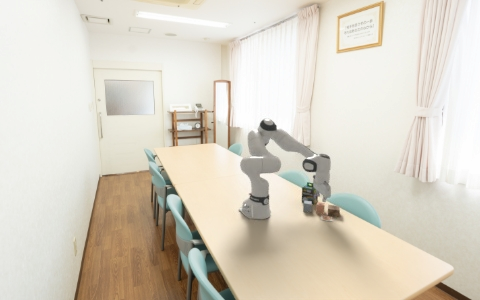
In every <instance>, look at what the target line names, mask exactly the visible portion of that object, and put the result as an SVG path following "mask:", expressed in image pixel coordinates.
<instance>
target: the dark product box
mask: <svg viewBox="0 0 480 300" xmlns="http://www.w3.org/2000/svg"><path fill="white" fill-rule="evenodd" d="M318 198H319V197H317V193H316V189H315V188H314V187H313V182H309V181H308V182H306V184H304V185H303V186H302V187H301V203H304V200H305V201H312V204H313V205H315V204H317V202H318V200H319V199H318Z"/></svg>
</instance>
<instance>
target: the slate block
mask: <svg viewBox="0 0 480 300" xmlns="http://www.w3.org/2000/svg"><path fill="white" fill-rule="evenodd" d="M312 206H313V205H312V201H305V200H304V202H303V206H302V212H303V213H312V208H313V207H312Z"/></svg>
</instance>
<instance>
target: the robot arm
mask: <svg viewBox="0 0 480 300" xmlns="http://www.w3.org/2000/svg"><path fill="white" fill-rule="evenodd" d="M270 140H273V142H274V143H275V144H276V145H277V146H278V147H279V148H280V149H281V150H283V151H285V152H288V153H289V152H290V153H291V152H293V153H298V154H300V155H301V156H303V157H304V158H305V159H304V160H302V164H301V165H302V169H303V170H304V171H305V172H307V173H315V174H313V175H312V178H313V180H312V183H313V187H314V188H315V189H316V193H317V197H318V198H319V197H320V196H322V197H323V198H322V200H321V201H322V203H326V202H327V200H328V198H331V196H332V188H331V186H330V181H331V180H330V179H331V173H330V171H331V168H332V167H331V166H332V165H331V164H332V163H331V157H330V156H329V155H328V154H325V153H316V152H314V151H313V150H311V149H310V148H308V147H307V146H306V145H305V144H303V143H301V142H300V141H298V140H297V139H296V138H294V137H293V136H292V135H291V134H290V133H288V132H286V131H285V130H284V129H282V128H280V127H278V126H277V125H276V123H275V121H273V120H272V119H270V118H263V119H262V120H261V121H260V123H259V126H258V128H257V129H253V130H251V131H249V132H248V135H247V147H248V151H249V154H250V156H245V157H243V158H242V159H241V161H240V162H239V163H240V165H239V167H240V171H241V172H242V173H244V174H245V175H246V176H247V177H248V178H249V181H250V187H251V191H250V193H248V196H249V197H248V198H247V199H245V200H244V201H243V202H242V204H241V205H242V206H240V207H239V208H238V211H239V212H240V213H242V214H243V215H244V216H245V217H246V218H247V219H249V220H250V219H254V220H265V219H268V218H269V217H270V216H271V215H272V214H271V209H270V191H269V190H270V183H269V181H268V180H267V179H265V178H264V177H261V176H260V175H261V174H274V173H278V172H279V171H280V170H281V167H282V162H281V160H280V158H279V157H278V156H275V155H274V154H272V153H271V152H270V151H269V150H268V149H267V147H266V146H267V145H268V144H270V143H269V142H270Z"/></svg>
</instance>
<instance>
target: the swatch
mask: <svg viewBox="0 0 480 300" xmlns="http://www.w3.org/2000/svg"><path fill="white" fill-rule="evenodd" d="M320 221H324V222H326V221H327V222H331V223H333V217H332V216H328V215H323V214H320Z"/></svg>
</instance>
